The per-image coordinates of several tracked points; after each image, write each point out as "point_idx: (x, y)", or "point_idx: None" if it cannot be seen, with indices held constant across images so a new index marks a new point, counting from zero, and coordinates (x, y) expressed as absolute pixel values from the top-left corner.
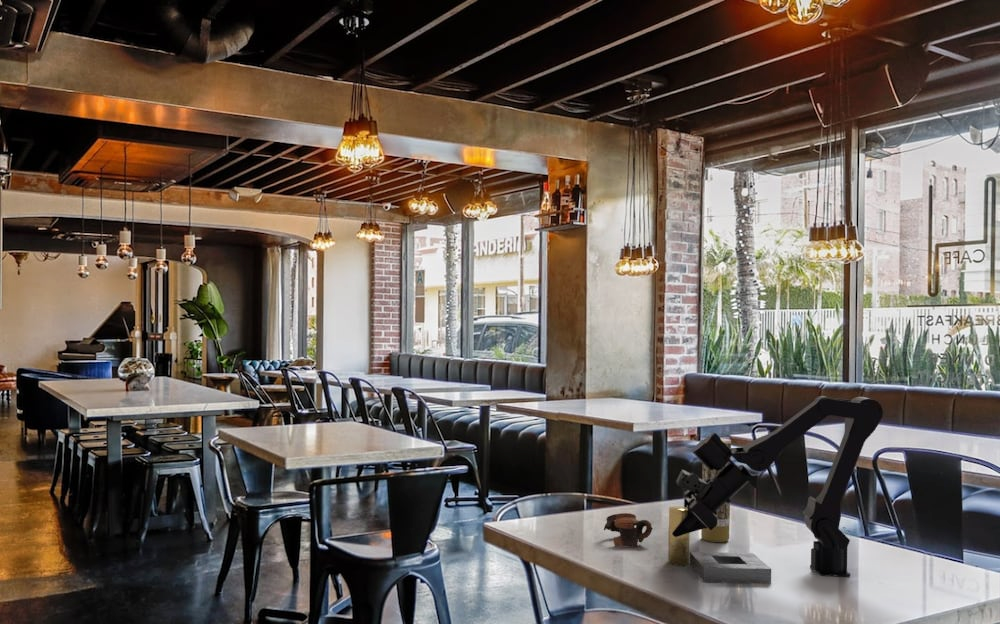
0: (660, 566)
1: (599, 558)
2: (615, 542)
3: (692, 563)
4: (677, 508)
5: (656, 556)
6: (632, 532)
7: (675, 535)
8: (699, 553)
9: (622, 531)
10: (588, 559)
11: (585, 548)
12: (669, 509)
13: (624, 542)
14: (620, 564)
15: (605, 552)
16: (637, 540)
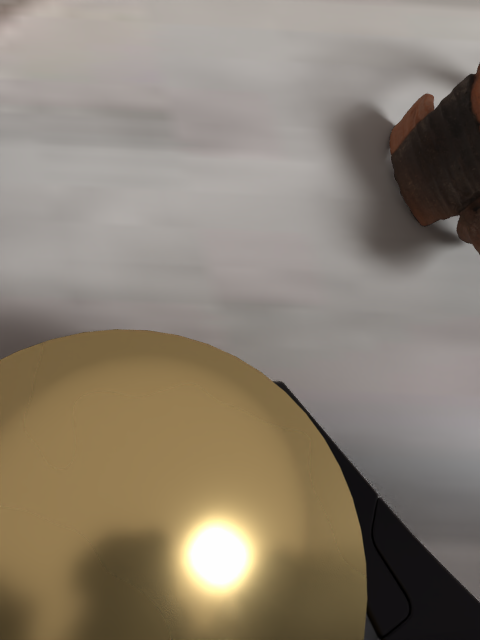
0: (92, 323)
1: (173, 53)
2: (405, 116)
3: None
4: (149, 532)
5: (276, 311)
6: (468, 164)
7: None
8: None
9: (452, 106)
10: (146, 9)
11: (323, 8)
12: (76, 336)
13: (402, 153)
14: (90, 136)
15: (281, 83)
16: (446, 214)
